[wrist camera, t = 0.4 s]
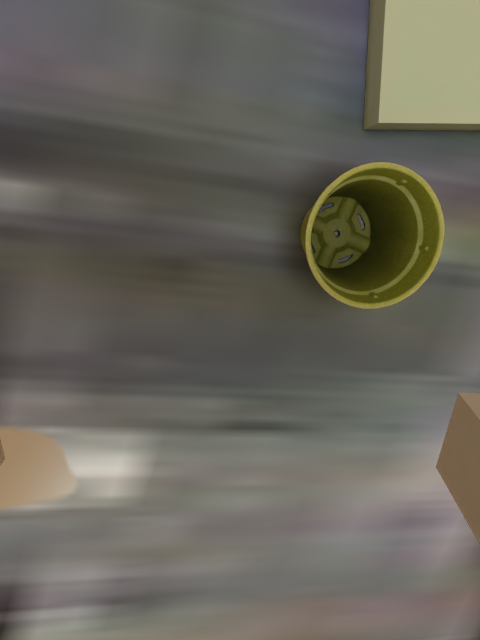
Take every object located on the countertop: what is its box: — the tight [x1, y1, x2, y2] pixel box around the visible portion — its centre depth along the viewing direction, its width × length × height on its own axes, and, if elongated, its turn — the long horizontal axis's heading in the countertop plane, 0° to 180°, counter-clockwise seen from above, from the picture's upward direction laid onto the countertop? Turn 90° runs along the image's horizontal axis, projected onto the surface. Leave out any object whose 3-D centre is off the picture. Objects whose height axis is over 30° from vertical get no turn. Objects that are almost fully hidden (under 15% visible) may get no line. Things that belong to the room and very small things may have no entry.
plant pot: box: [300, 162, 444, 309], centre depth 33 cm, size 9×9×9 cm
